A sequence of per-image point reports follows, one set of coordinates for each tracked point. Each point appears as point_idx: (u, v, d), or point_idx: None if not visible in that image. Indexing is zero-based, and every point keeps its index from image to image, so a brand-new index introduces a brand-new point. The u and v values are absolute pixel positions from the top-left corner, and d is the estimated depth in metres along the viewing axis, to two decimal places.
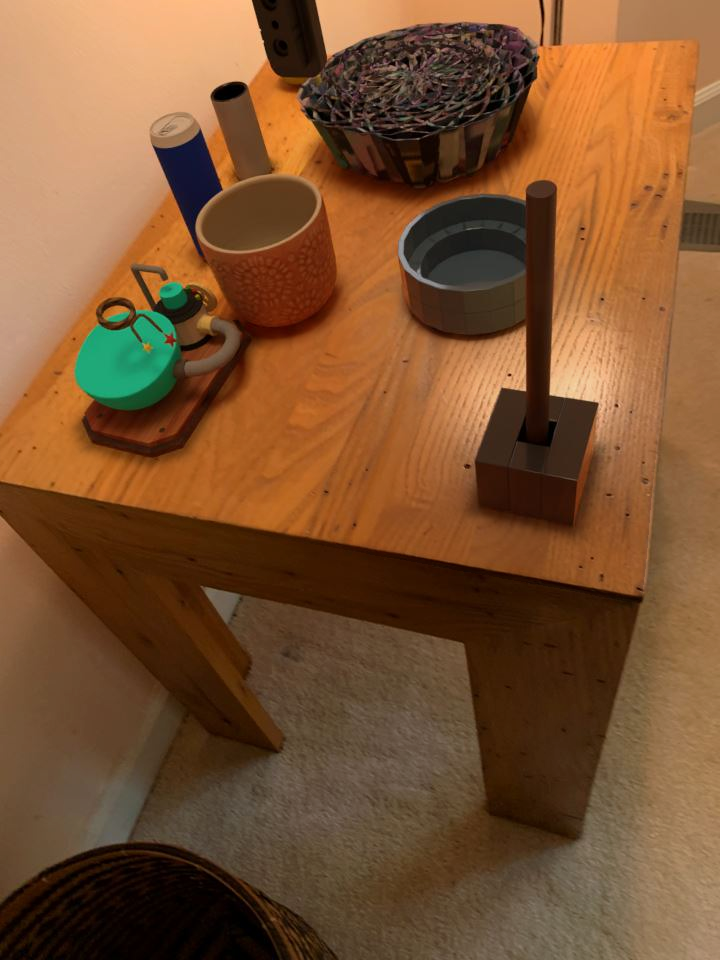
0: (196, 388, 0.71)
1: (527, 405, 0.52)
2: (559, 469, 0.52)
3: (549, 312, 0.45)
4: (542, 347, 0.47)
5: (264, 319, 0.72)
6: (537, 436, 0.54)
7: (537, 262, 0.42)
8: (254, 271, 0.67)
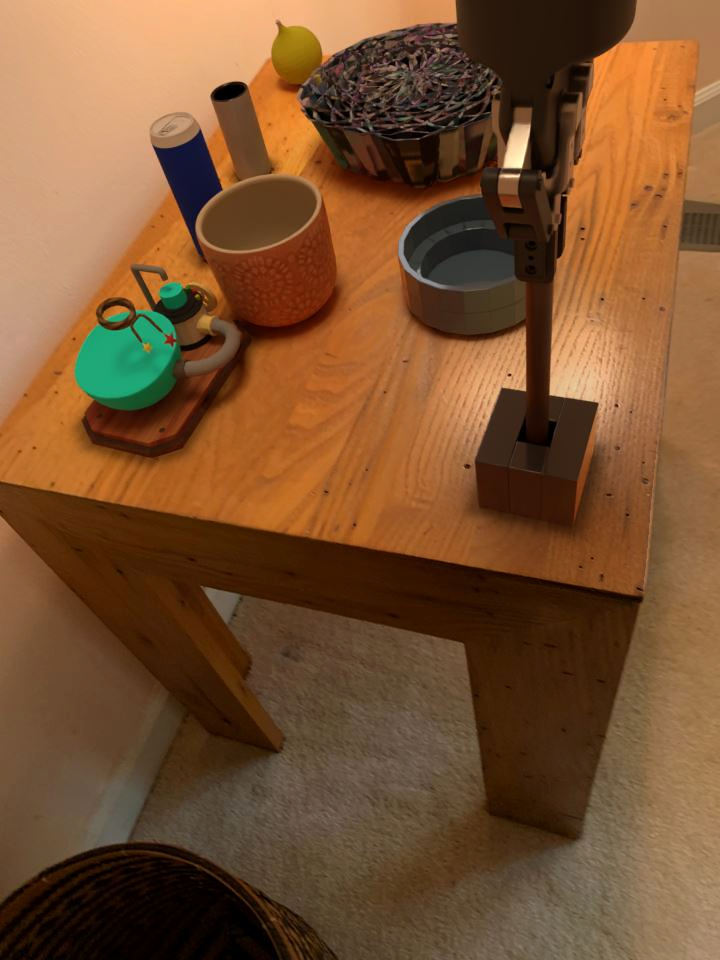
0: (196, 388, 0.71)
1: (527, 405, 0.52)
2: (559, 469, 0.52)
3: (548, 312, 0.45)
4: (542, 347, 0.47)
5: (264, 319, 0.72)
6: (537, 436, 0.54)
7: None
8: (254, 270, 0.67)
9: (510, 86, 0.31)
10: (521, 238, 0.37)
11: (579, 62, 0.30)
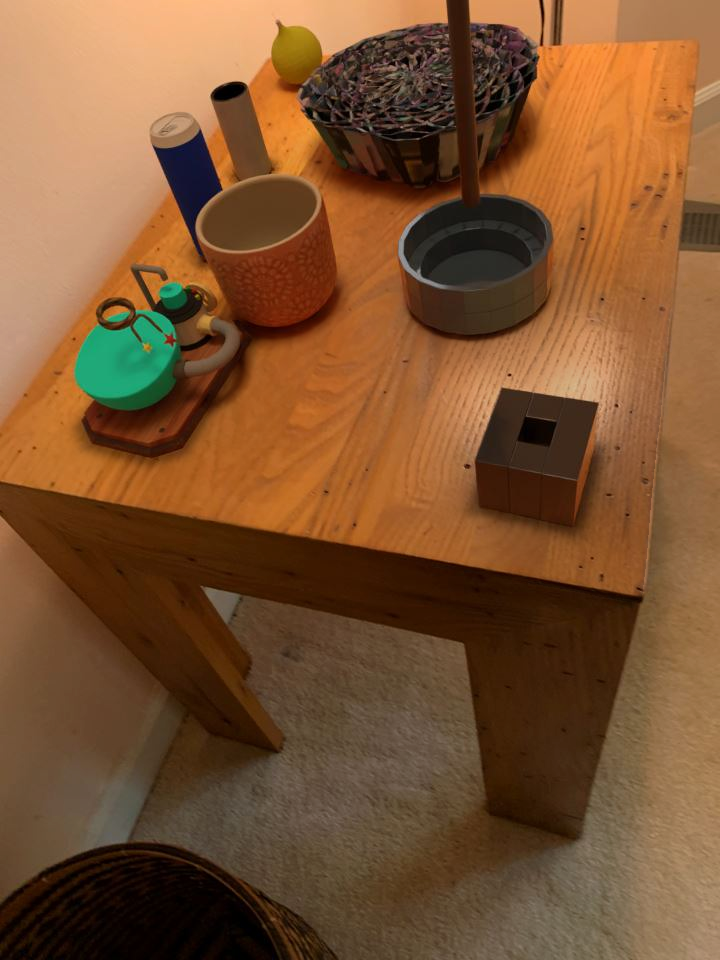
0: (196, 388, 0.71)
1: (455, 102, 0.58)
2: (559, 469, 0.52)
3: None
4: (461, 22, 0.53)
5: (264, 319, 0.72)
6: (466, 139, 0.60)
7: None
8: (254, 270, 0.67)
9: None
10: None
11: None
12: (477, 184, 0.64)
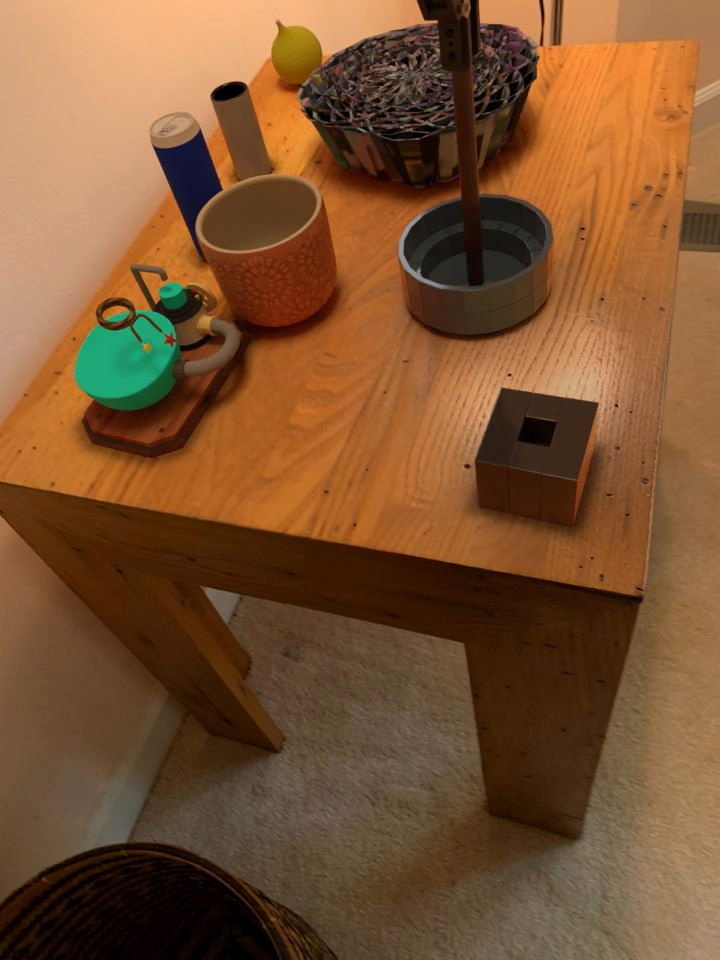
0: (196, 388, 0.71)
1: (462, 200, 0.66)
2: (559, 469, 0.52)
3: (470, 103, 0.58)
4: (468, 138, 0.60)
5: (264, 319, 0.72)
6: (472, 231, 0.67)
7: None
8: (254, 270, 0.67)
9: None
10: (439, 18, 0.51)
11: None
12: (481, 267, 0.71)
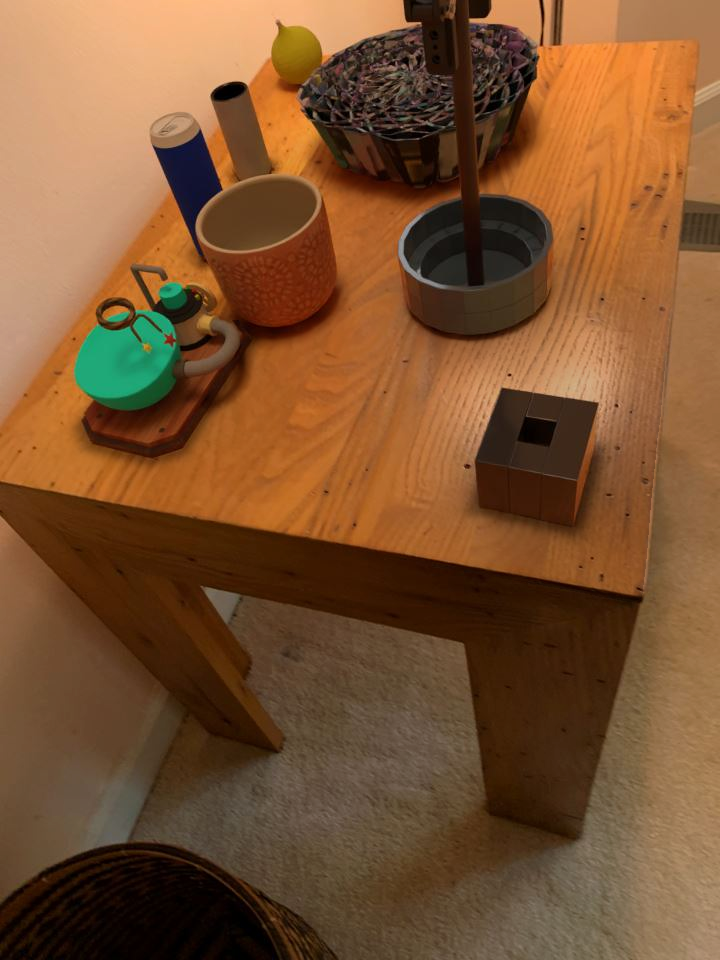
0: (196, 388, 0.71)
1: (462, 203, 0.66)
2: (559, 469, 0.52)
3: (470, 107, 0.59)
4: (468, 142, 0.61)
5: (264, 319, 0.72)
6: (472, 234, 0.68)
7: None
8: (254, 270, 0.67)
9: None
10: (422, 19, 0.48)
11: None
12: (481, 269, 0.71)
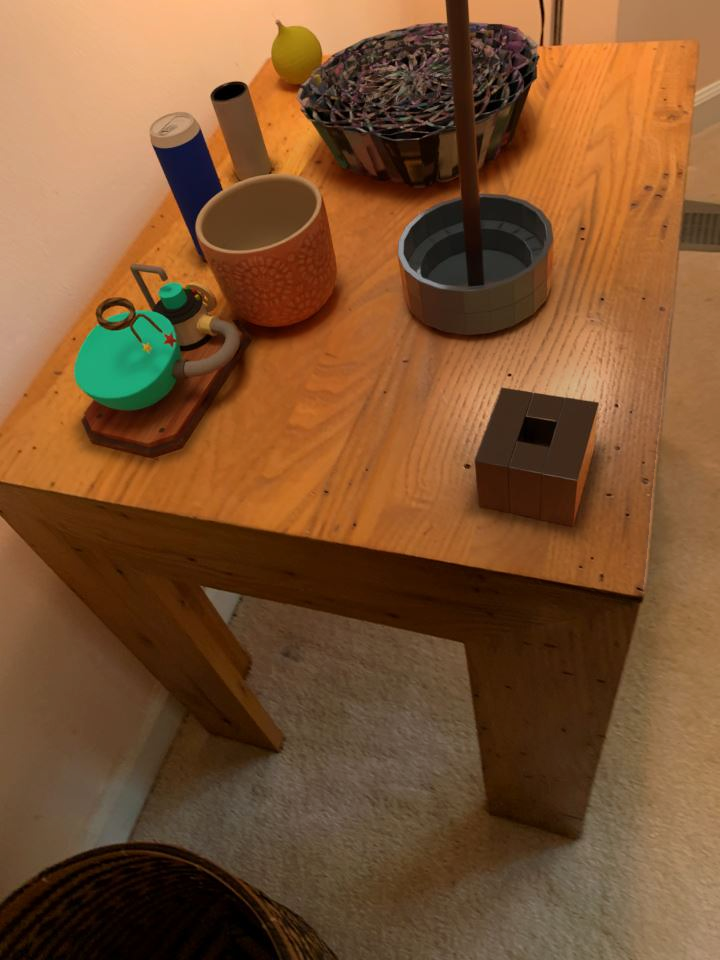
0: (196, 388, 0.71)
1: (462, 203, 0.66)
2: (559, 469, 0.52)
3: (470, 107, 0.59)
4: (468, 142, 0.61)
5: (264, 319, 0.72)
6: (472, 234, 0.68)
7: (457, 58, 0.55)
8: (254, 270, 0.67)
9: None
10: None
11: None
12: (481, 269, 0.71)
